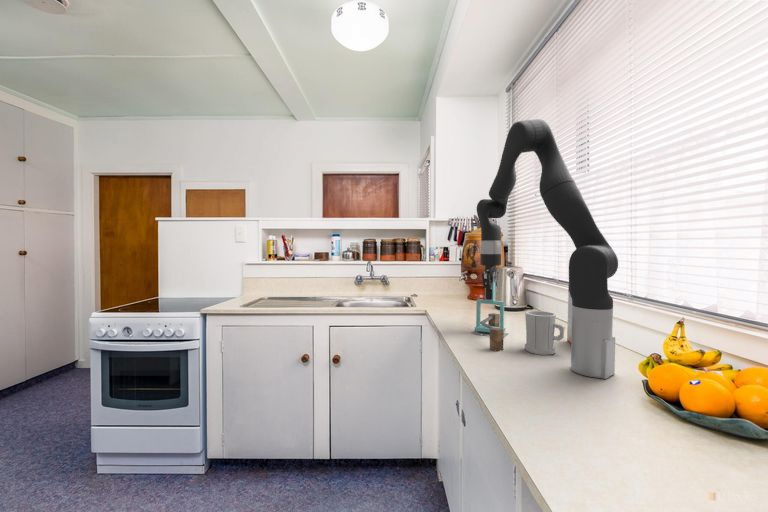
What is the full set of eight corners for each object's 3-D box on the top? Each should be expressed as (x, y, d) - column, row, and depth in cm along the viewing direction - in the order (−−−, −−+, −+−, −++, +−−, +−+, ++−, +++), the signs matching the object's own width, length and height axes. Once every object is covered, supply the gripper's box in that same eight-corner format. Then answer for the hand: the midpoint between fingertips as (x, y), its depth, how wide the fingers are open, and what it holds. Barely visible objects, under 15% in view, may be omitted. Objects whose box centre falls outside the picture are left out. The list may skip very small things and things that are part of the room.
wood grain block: (499, 330, 139) (499, 313, 138) (503, 352, 110) (504, 331, 109) (488, 329, 140) (488, 312, 139) (489, 350, 111) (489, 330, 111)
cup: (554, 347, 115) (555, 311, 114) (566, 356, 106) (566, 316, 105) (521, 346, 116) (521, 310, 115) (529, 355, 107) (530, 315, 106)
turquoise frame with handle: (501, 333, 128) (502, 283, 127) (474, 330, 133) (475, 281, 132) (505, 331, 132) (505, 282, 131) (478, 327, 137) (479, 280, 137)
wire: (495, 316, 137) (495, 314, 137) (498, 332, 112) (498, 330, 112) (480, 315, 139) (480, 313, 139) (480, 331, 113) (480, 328, 113)
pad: (503, 338, 126) (503, 337, 126) (471, 333, 133) (471, 332, 133) (508, 334, 132) (508, 333, 132) (477, 329, 139) (477, 329, 139)
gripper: (495, 253, 124) (495, 302, 124) (505, 252, 135) (505, 297, 136) (474, 253, 128) (474, 300, 128) (486, 252, 139) (485, 295, 140)
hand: (490, 298), depth 132 cm, fingers closed on turquoise frame with handle, 3 cm apart
